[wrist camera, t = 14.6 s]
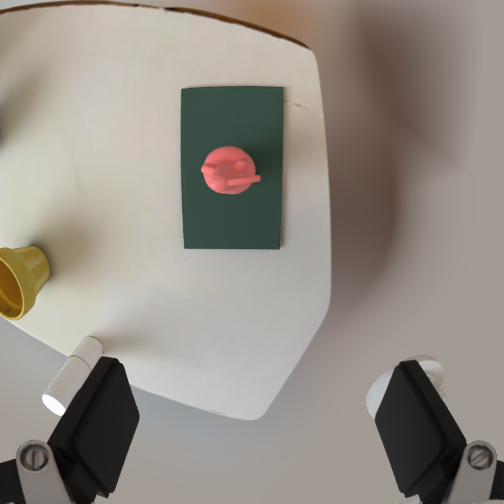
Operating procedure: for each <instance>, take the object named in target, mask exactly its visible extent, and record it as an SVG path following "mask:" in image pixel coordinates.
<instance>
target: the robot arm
mask: <svg viewBox="0 0 504 504" xmlns="http://www.w3.org/2000/svg"><path fill="white" fill-rule="evenodd" d="M446 399H447V396H446V389H445V388H443V389H440V390H437V389H436V387H435V379H434V377H433V376H432V375H431V374H430V373H427V372H424V370H423V369H422V367H421V366H420V364H419V363H418V361H417V360H408V361H401V362H400V363H399V365H398V366H396V367H395V368H394V371H393V373H392V376H391V379H390V381H389V384H388V386H387V389H386V391H385V394H384V396H383V399H382V401H381V403H380V406H379V408H378V410H377V412H376V415H375V423H376V426H377V429H378V431H379V434H380V437H381V439H382V442H383V445H384V448H385V450H386V453H387V456H388V459H389V462H390V464H391V468H392V470H393V473H394V476H395V479H396V482H397V485H398V488H399V491H400V492H401V493H404V495H405V498H403V499H401V500H399V501H398V502H396V503H395V504H504V462H502V461H499V460H497V454H496V451H495V449H494V448H493V446H491V445H490V444H489V443H487V442H484V441H474V442H472V443H470V444H468V445H467V443H466V439H465V437H464V435H463V434H462V432H461V430H460V428H459V427H458V425H457V423H456V422H455V420H454V418H453V416H452V415H451V413H450V411H449V410H448V408H447V407H446V405H445V403H444V402H445V401H446ZM138 422H139V411H138V409H137V406H136V403H135V400H134V397H133V394H132V391H131V388H130V385H129V382H128V378H127V375H126V372H125V369H124V366H123V364H122V363H120V362H119V360H118V359H116V358H111V357H105V356H102V357H100V358H99V360H98V362H97V363H96V365H95V366H94V368H93V369H92V371H91V372H90V374H89V376H88V377H87V379H86V380H85V382H84V383H83V385H82V387H81V388H80V389H79V390H78V391H77V393H76V394H75V396H74V397H73V399H72V401H71V402H70V404H69V406H68V407H67V409H66V411H65V412H64V414H63V416H62V418H61V419H60V421H59V423H58V424H57V426H56V428H55V429H54V431H53V433H52V435H51V436H50V438H49V440H48V442H47V444H46V443H45V442H42V441H40V440H29V441H27V442H25V443H23V444H22V445H21V446H20V447H19V449H18V450H17V454H16V459H13V460H10V461H6V462H2V463H0V504H95V503H94V500H95V497H96V495H99V496H102V497H105V498H108V496H109V493H113V492H114V490H115V488H116V485H117V482H118V479H119V476H120V473H121V470H122V467H123V464H124V461H125V458H126V456H127V453H128V450H129V447H130V444H131V442H132V439H133V436H134V433H135V431H136V428H137V425H138Z"/></svg>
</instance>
